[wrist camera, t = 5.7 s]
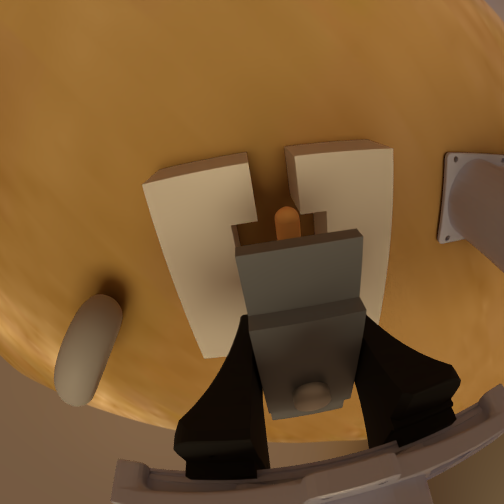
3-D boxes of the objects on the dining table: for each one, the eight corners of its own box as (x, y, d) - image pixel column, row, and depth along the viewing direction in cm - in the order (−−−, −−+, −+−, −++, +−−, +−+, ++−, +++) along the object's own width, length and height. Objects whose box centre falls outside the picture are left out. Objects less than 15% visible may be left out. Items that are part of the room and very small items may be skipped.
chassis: (367, 139, 17) (392, 148, 14) (363, 302, 24) (377, 329, 20) (159, 169, 17) (142, 184, 14) (207, 327, 24) (204, 358, 21)
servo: (325, 191, 12) (381, 255, 7) (326, 354, 17) (347, 426, 12) (235, 205, 12) (233, 279, 7) (267, 364, 17) (274, 440, 12)
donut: (102, 263, 20) (45, 354, 12) (138, 282, 21) (97, 382, 13) (84, 333, 24) (50, 411, 16) (113, 347, 25) (85, 428, 17)
